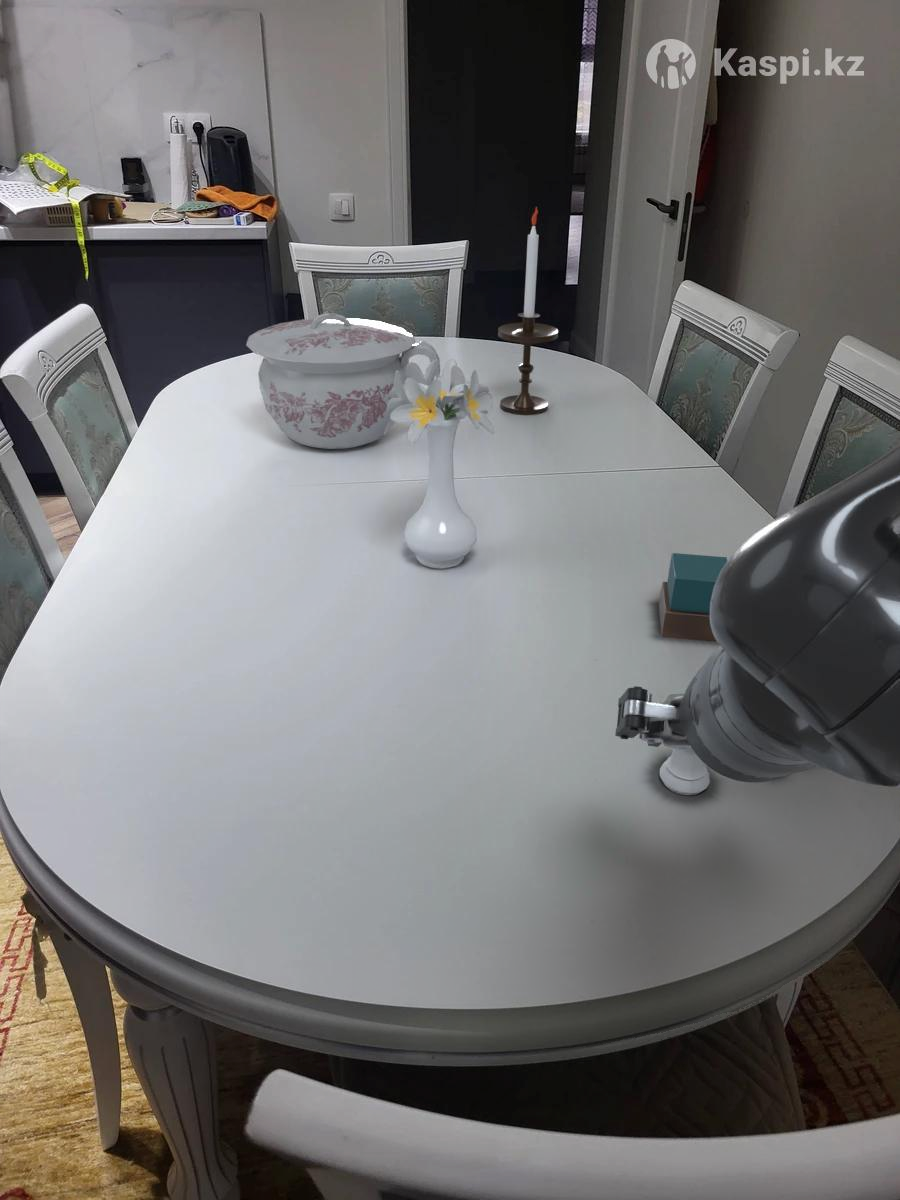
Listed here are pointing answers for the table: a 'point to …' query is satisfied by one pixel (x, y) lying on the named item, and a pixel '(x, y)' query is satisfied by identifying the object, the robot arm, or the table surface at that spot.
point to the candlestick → (527, 336)
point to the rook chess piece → (685, 773)
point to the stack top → (693, 581)
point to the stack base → (683, 621)
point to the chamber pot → (333, 377)
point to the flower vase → (439, 455)
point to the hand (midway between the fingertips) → (714, 739)
